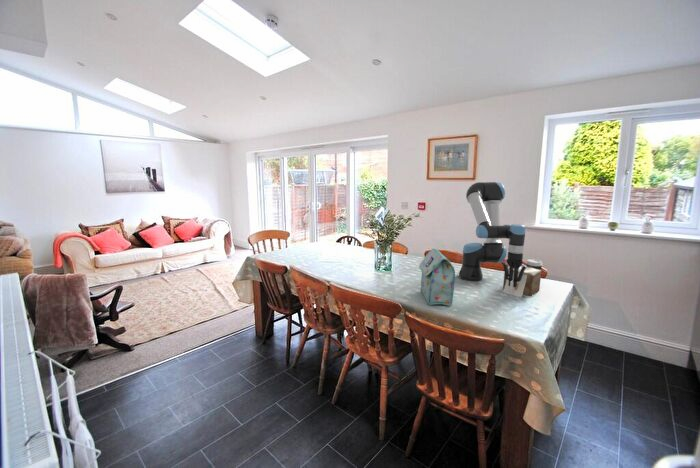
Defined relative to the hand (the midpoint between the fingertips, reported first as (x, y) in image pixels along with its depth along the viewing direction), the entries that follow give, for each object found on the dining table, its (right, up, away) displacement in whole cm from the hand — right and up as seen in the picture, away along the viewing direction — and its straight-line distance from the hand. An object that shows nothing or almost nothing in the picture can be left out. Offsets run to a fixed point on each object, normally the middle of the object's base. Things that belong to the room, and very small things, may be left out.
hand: (511, 291), depth 182 cm
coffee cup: (+23, +2, +20) cm, 30 cm away
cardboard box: (+10, 0, +9) cm, 13 cm away
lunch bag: (-45, -3, -4) cm, 45 cm away
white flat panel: (+3, +4, +2) cm, 6 cm away
